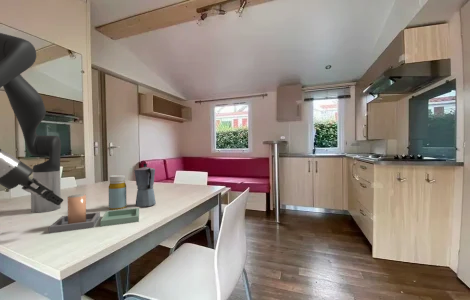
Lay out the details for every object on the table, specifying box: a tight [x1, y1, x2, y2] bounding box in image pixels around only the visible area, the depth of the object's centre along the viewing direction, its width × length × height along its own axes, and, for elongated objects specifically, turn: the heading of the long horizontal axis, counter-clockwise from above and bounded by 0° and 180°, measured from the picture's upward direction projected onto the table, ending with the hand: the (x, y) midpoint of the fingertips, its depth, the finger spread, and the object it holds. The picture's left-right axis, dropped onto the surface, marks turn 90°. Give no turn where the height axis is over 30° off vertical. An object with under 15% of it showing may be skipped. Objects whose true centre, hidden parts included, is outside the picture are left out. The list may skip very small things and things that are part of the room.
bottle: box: [108, 174, 127, 211], centre depth 97 cm, size 7×7×15 cm
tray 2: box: [100, 207, 140, 227], centre depth 81 cm, size 12×12×2 cm
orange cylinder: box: [67, 193, 87, 224], centre depth 76 cm, size 5×5×10 cm
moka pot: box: [133, 163, 156, 208], centre depth 102 cm, size 10×15×20 cm, turn 43°
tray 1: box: [48, 211, 101, 234], centre depth 76 cm, size 12×12×2 cm
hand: (56, 200), depth 71 cm, fingers open, 8 cm apart
